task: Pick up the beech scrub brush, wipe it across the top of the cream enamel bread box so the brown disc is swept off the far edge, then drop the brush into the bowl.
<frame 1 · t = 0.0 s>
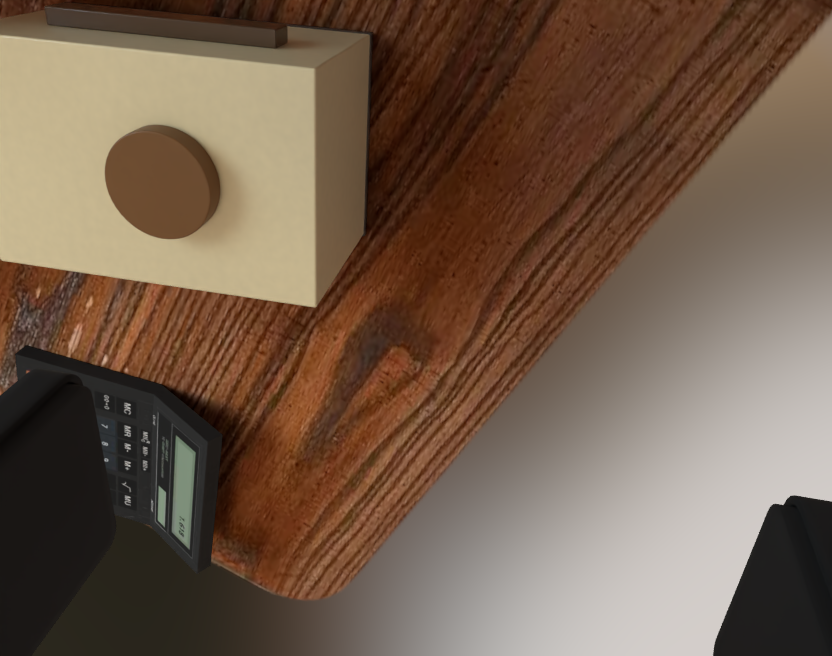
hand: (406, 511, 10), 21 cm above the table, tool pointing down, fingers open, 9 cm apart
brown disc: (168, 179, 24), point 7 cm above the table, touching bread box
bread box: (225, 122, 31), on the table
calculator: (133, 443, 41), on the table
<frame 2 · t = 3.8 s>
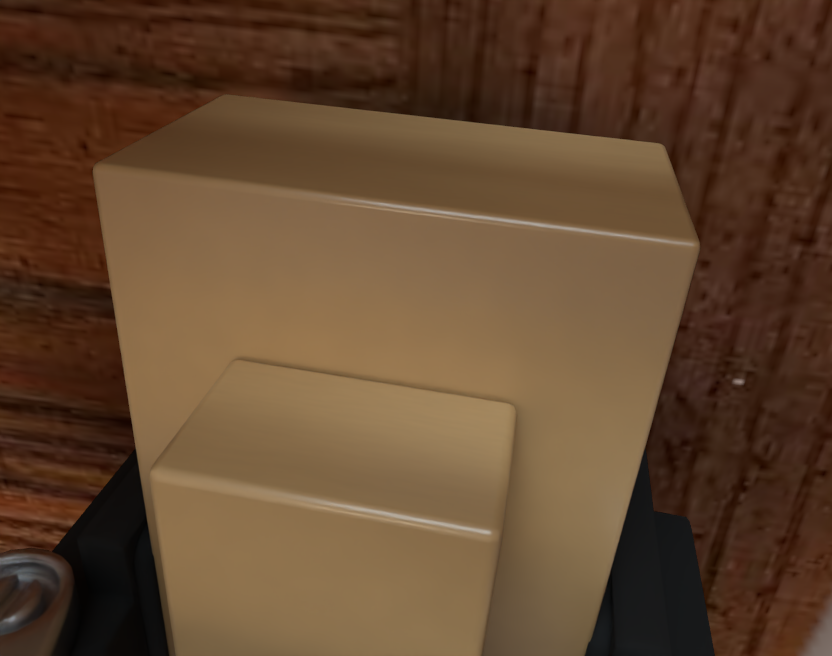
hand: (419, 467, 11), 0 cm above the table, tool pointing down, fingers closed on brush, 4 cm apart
brush: (423, 452, 12), on the table, touching gripper
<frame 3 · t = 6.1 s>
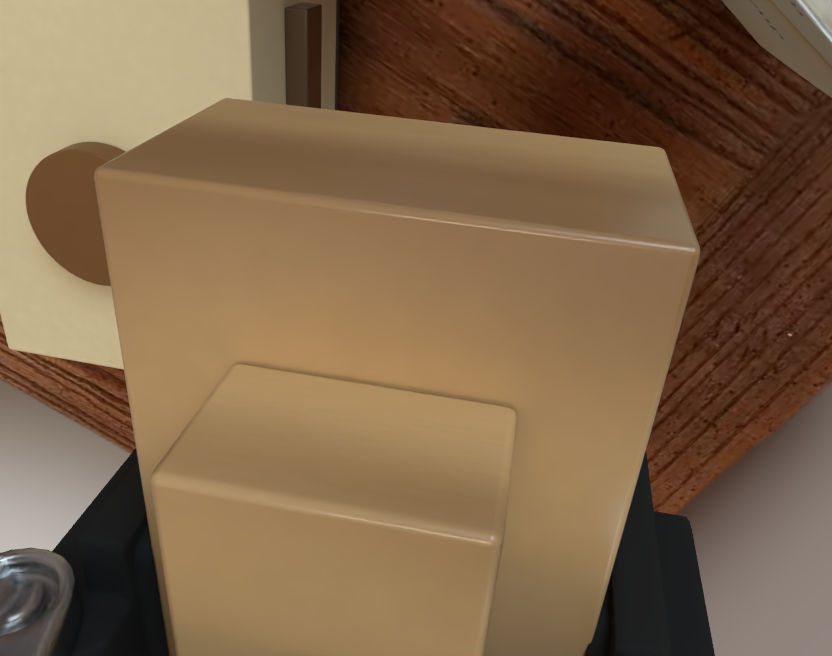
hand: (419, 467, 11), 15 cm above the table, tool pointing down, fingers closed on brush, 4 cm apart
brown disc: (109, 210, 19), point 7 cm above the table, touching bread box
bread box: (220, 108, 25), on the table
brush: (423, 454, 12), point 14 cm above the table, touching gripper
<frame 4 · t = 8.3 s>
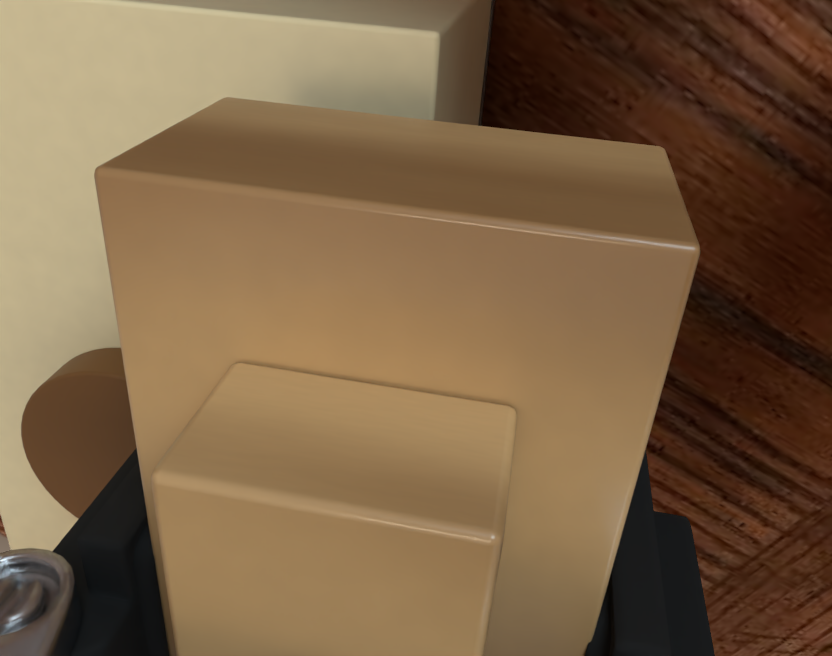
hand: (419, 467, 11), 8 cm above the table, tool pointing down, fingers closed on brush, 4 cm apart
brown disc: (146, 436, 13), point 7 cm above the table, touching bread box, gripper
bread box: (303, 234, 18), on the table
brush: (423, 453, 12), point 7 cm above the table, touching gripper
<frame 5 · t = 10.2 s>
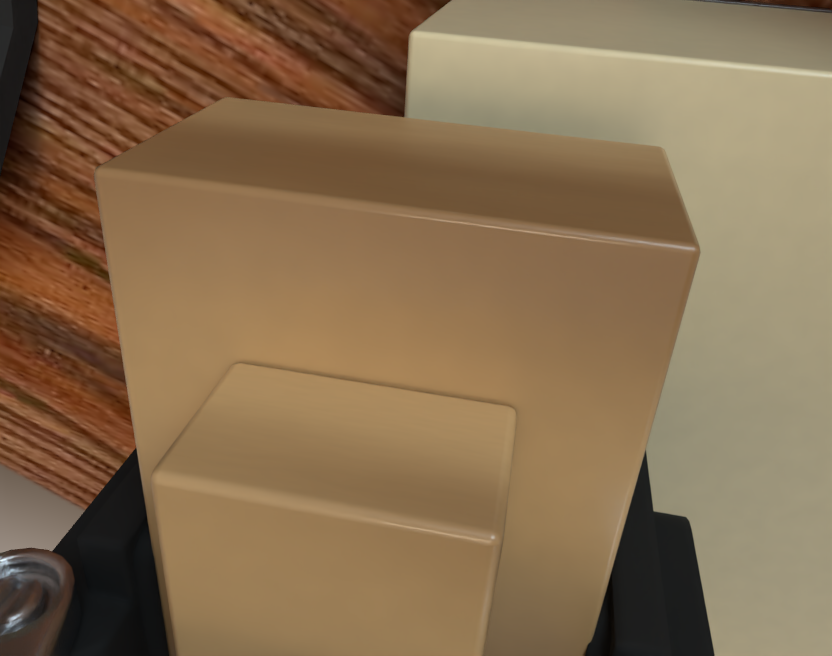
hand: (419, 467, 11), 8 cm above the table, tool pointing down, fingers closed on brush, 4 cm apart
bread box: (619, 278, 17), on the table
brush: (423, 453, 12), point 7 cm above the table, touching gripper
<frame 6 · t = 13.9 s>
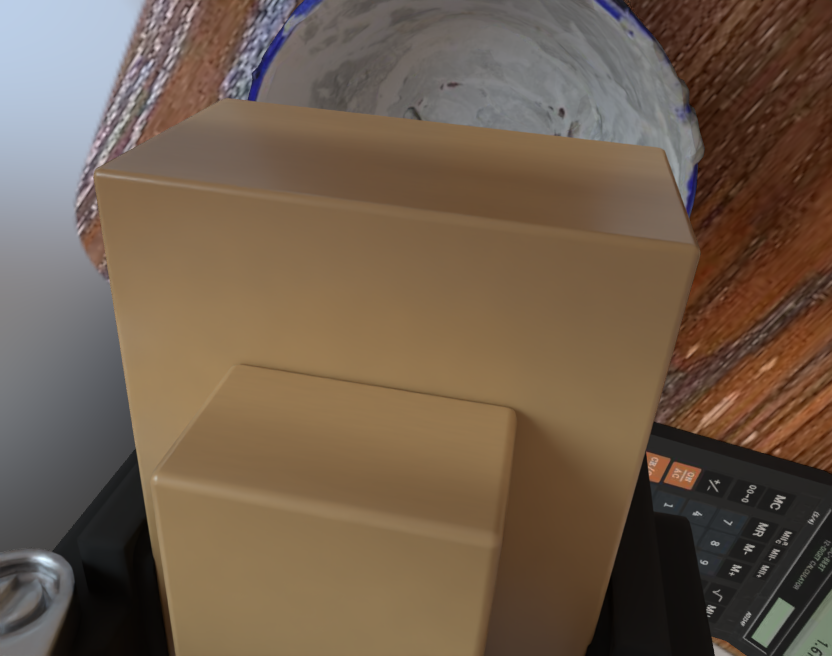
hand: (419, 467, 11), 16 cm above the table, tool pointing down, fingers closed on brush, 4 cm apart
bowl: (476, 145, 25), on the table
brush: (423, 454, 12), point 16 cm above the table, touching gripper
calculator: (731, 539, 31), on the table
when the fingers open (5 cm above the table, at t = 16.6 s): brush stays where it is, resting on bowl.
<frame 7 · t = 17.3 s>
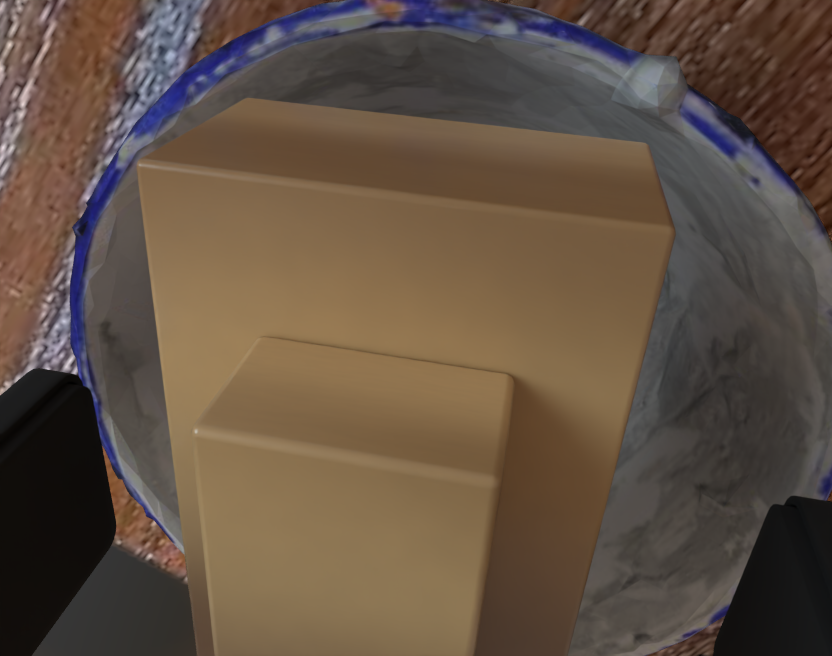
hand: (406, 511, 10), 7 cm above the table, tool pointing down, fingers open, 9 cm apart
bowl: (467, 293, 16), on the table, touching brush
brush: (427, 434, 12), point 5 cm above the table, touching bowl
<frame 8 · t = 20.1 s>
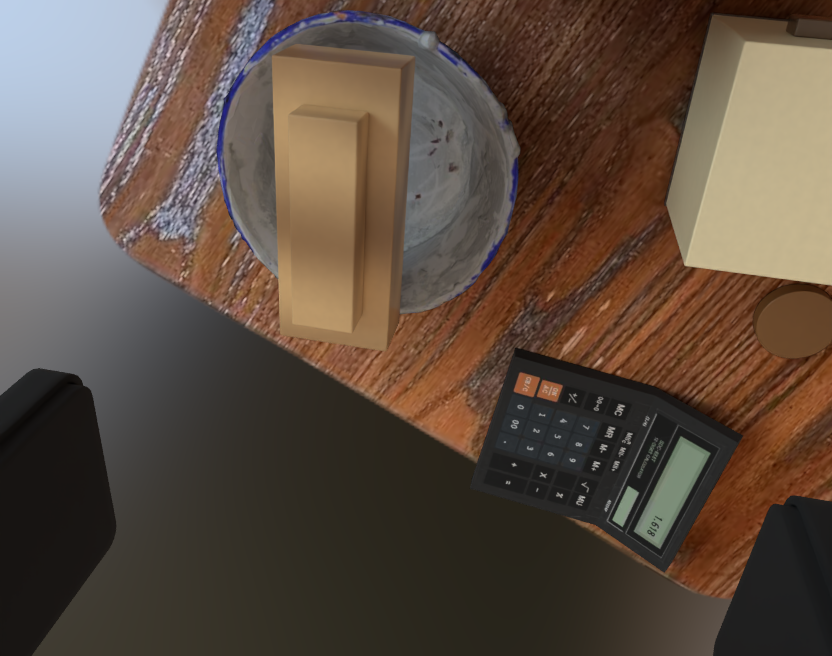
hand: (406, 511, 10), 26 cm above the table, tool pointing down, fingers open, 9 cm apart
brown disc: (797, 325, 35), point 1 cm above the table, tilted 180°
bowl: (387, 146, 35), on the table, touching brush
brush: (360, 182, 31), point 5 cm above the table, touching bowl
calculator: (594, 444, 41), on the table
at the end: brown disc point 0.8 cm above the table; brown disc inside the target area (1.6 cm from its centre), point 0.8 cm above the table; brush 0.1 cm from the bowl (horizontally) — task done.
